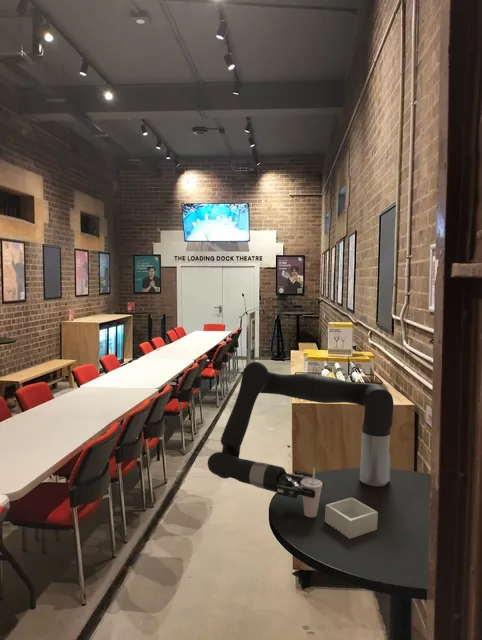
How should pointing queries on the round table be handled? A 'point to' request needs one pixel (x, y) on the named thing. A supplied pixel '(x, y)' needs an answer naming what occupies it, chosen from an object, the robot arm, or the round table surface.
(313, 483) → the smoothie
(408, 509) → the round table surface
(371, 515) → the box
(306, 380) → the robot arm
